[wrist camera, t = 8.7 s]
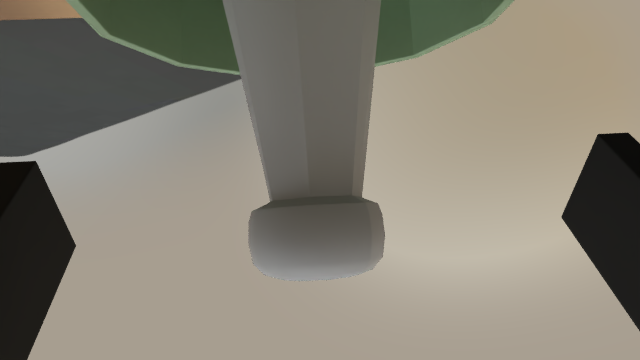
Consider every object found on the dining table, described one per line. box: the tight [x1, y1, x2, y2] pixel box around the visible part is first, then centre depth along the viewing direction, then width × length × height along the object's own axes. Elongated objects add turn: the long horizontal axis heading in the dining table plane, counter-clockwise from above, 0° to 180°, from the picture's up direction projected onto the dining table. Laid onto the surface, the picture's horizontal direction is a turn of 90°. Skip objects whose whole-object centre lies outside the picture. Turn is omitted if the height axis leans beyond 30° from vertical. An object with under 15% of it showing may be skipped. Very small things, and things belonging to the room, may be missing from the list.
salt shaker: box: [222, 0, 385, 281], centre depth 16 cm, size 6×6×13 cm
